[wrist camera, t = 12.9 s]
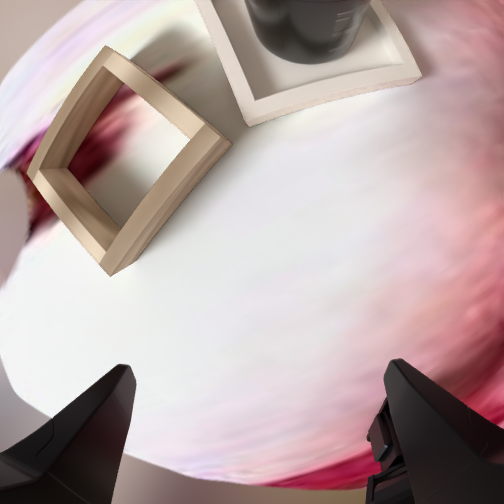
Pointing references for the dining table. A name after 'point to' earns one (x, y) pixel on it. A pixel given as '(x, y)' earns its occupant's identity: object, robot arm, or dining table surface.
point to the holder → (162, 192)
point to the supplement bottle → (307, 27)
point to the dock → (300, 75)
